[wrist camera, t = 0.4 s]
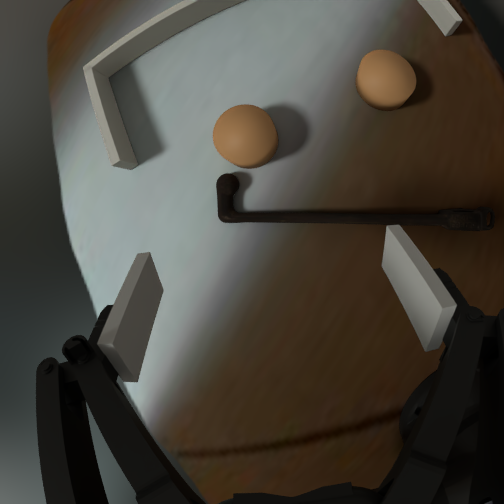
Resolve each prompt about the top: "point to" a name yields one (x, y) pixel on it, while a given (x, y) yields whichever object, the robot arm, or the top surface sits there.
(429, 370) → the top surface
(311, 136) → the top surface
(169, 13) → the chip tray
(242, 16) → the top surface
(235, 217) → the black hooked stick
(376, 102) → the puck
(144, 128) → the top surface
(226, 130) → the puck
